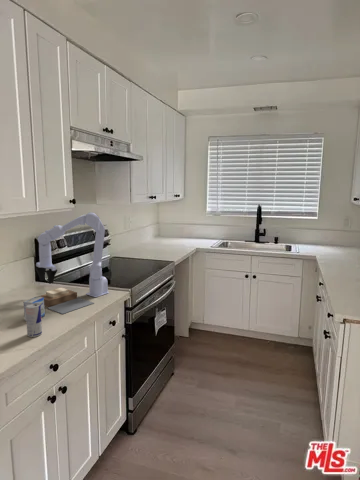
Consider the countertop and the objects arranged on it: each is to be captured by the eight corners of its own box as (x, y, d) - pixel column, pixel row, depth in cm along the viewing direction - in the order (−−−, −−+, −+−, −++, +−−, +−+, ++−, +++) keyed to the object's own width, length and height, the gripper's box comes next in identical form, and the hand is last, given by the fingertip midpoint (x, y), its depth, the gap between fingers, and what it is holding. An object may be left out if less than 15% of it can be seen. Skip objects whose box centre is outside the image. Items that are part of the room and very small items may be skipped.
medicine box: (33, 322, 142) (31, 302, 140) (24, 320, 143) (23, 301, 142) (45, 315, 149) (44, 297, 148) (36, 314, 151) (35, 296, 149)
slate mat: (78, 298, 172) (78, 297, 172) (94, 303, 165) (94, 302, 165) (47, 308, 158) (47, 307, 158) (62, 314, 151) (62, 313, 151)
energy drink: (45, 332, 132) (43, 303, 130) (36, 338, 127) (34, 308, 125) (33, 330, 134) (31, 302, 132) (24, 336, 129) (22, 307, 127)
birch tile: (61, 291, 173) (61, 287, 172) (68, 293, 169) (68, 289, 169) (46, 295, 165) (45, 291, 165) (53, 298, 162) (52, 294, 162)
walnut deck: (65, 294, 177) (65, 288, 177) (77, 298, 171) (76, 292, 171) (37, 303, 164) (37, 296, 164) (49, 307, 158) (49, 300, 158)
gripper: (30, 255, 170) (31, 281, 172) (46, 259, 162) (47, 286, 164) (42, 253, 176) (44, 278, 178) (59, 257, 168) (60, 283, 170)
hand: (46, 281), depth 171 cm, fingers open, 7 cm apart
